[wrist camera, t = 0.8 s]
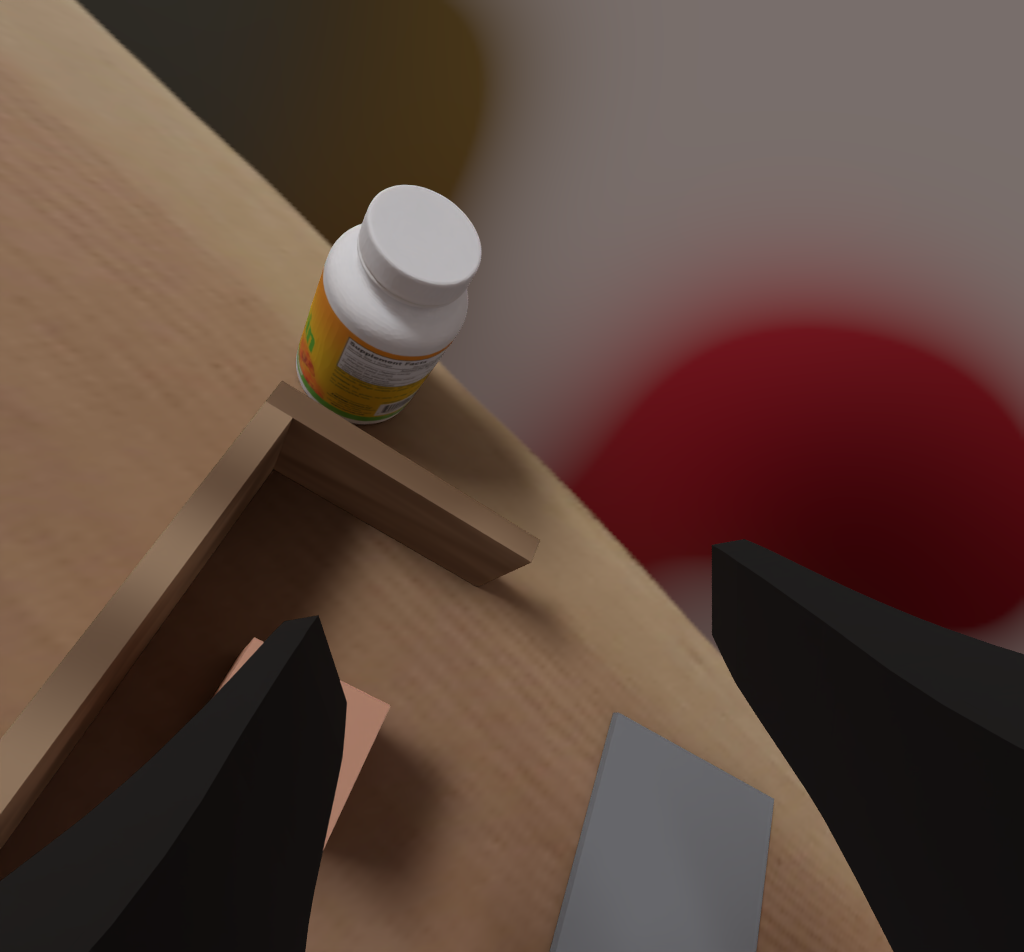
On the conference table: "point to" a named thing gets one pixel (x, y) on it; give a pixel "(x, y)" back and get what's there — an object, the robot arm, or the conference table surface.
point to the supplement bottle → (388, 304)
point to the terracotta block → (359, 732)
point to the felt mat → (665, 853)
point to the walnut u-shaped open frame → (201, 528)
